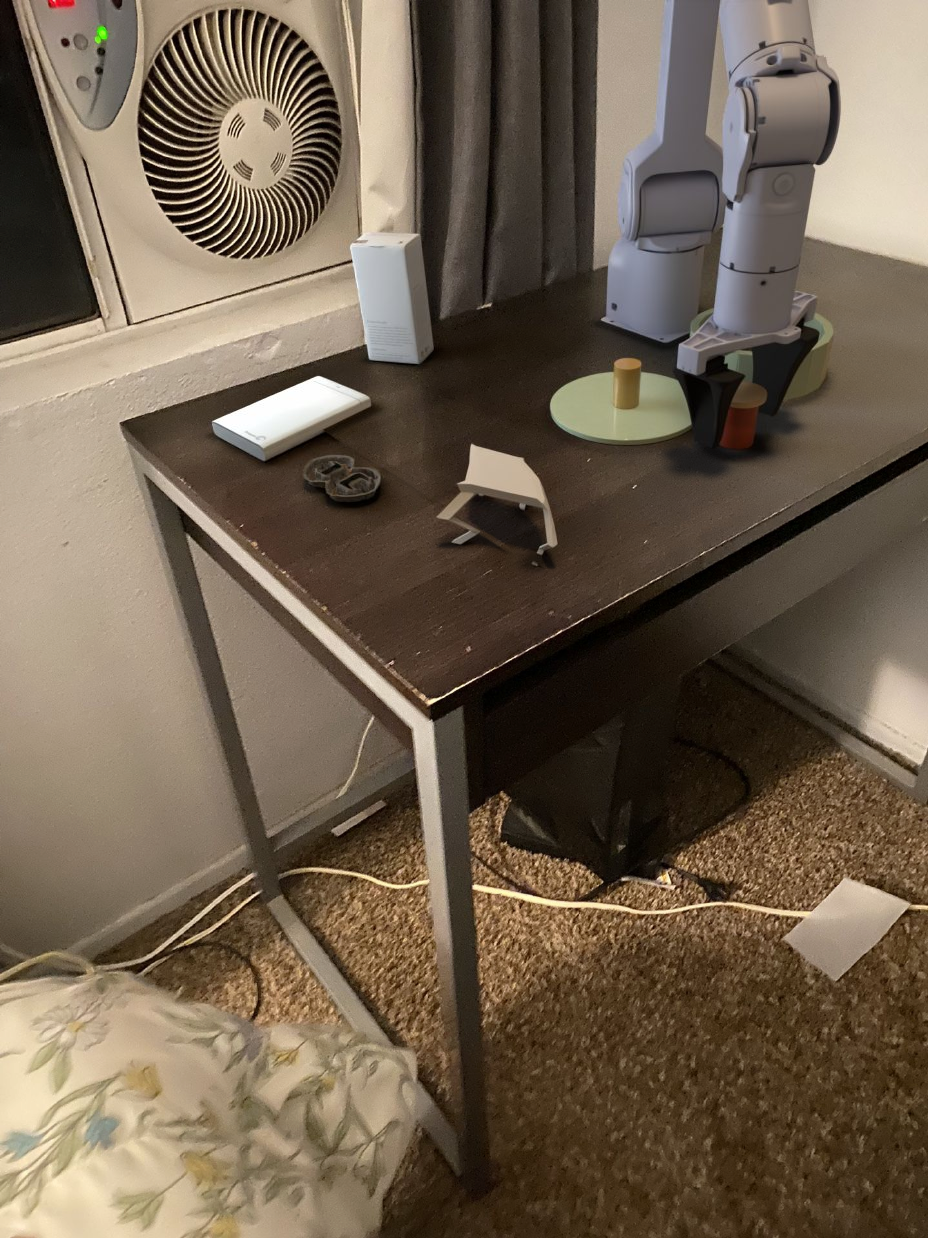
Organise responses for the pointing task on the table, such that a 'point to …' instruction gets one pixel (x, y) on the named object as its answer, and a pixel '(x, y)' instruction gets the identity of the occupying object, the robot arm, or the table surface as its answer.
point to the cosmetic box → (393, 296)
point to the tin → (808, 372)
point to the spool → (743, 416)
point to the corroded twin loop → (342, 478)
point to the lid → (622, 406)
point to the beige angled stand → (499, 490)
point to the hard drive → (289, 417)
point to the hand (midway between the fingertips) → (735, 427)
